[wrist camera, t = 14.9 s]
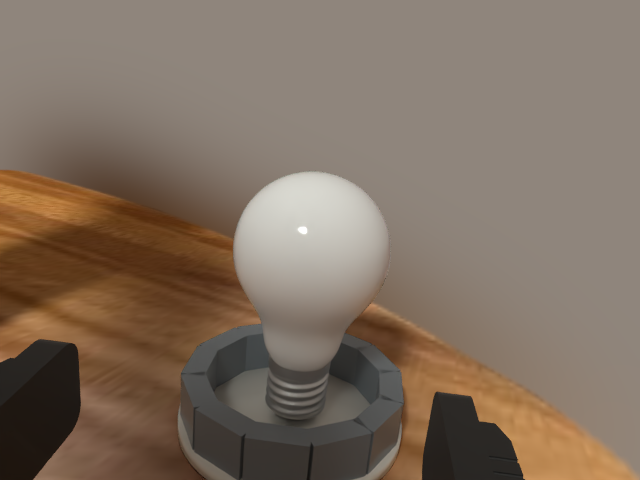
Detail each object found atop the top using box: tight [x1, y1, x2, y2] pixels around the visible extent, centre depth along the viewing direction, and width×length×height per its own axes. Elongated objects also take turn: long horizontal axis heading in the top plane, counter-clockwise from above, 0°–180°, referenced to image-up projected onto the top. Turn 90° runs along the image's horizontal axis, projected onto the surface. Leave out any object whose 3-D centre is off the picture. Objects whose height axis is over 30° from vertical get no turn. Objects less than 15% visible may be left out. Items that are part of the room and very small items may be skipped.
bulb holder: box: [178, 324, 404, 480], centre depth 25 cm, size 10×10×3 cm
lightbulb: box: [233, 171, 391, 420], centre depth 23 cm, size 6×6×11 cm
